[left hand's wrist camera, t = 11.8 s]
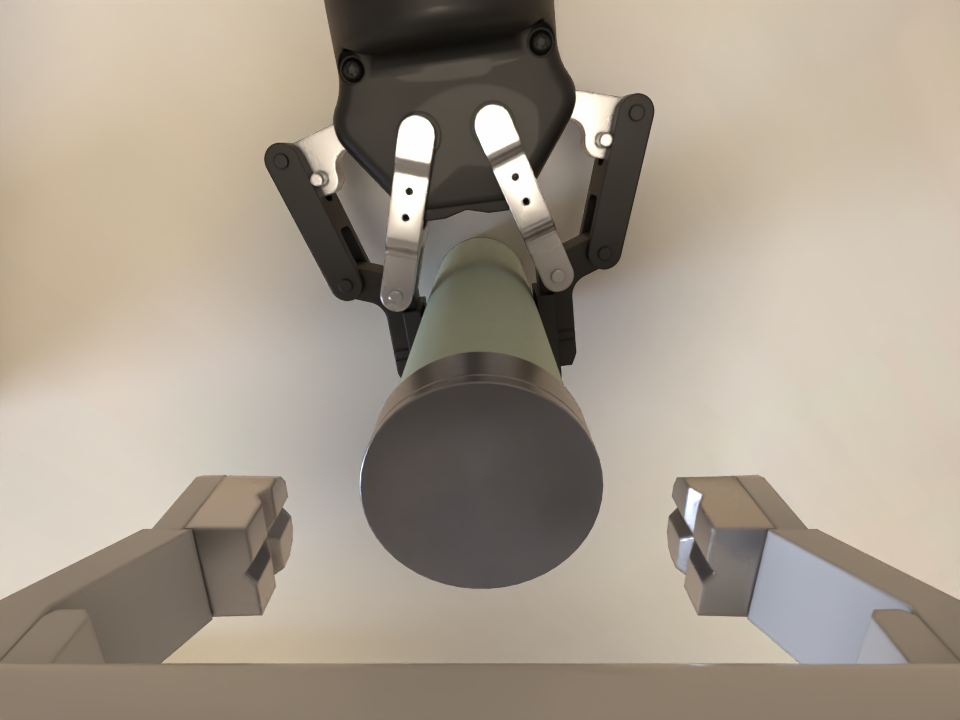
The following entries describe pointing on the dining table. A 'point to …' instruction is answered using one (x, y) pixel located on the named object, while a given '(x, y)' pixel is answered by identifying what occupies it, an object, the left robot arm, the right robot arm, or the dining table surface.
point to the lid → (481, 472)
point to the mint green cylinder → (481, 309)
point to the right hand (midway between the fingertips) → (489, 379)
